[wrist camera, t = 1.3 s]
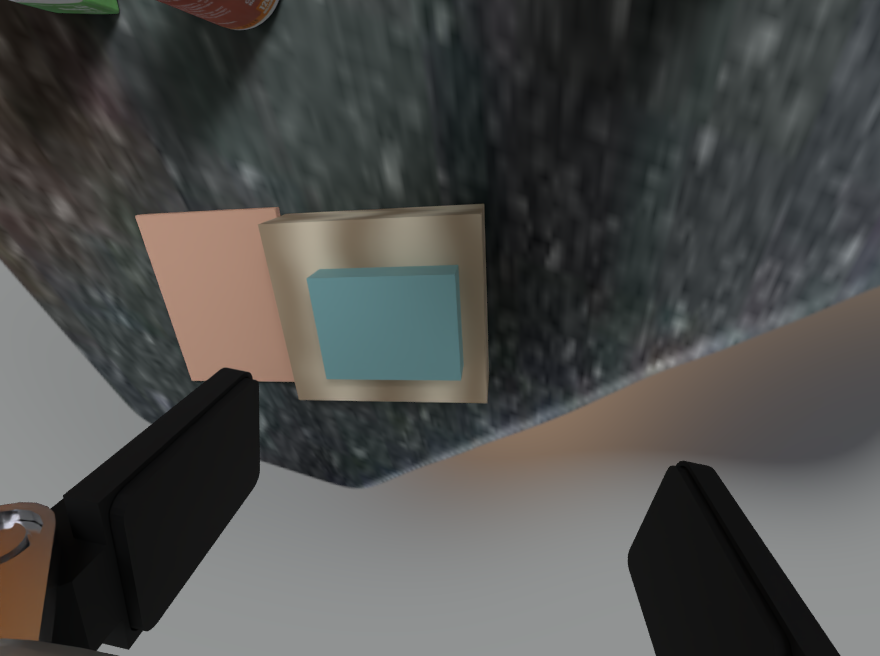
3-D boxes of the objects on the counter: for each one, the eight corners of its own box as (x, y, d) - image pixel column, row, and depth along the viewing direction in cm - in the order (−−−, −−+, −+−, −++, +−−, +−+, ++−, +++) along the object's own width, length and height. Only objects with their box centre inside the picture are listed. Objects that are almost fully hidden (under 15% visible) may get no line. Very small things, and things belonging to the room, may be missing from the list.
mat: (278, 206, 31) (274, 208, 30) (315, 378, 36) (312, 382, 36) (141, 214, 32) (135, 215, 32) (196, 377, 38) (191, 380, 37)
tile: (458, 264, 26) (454, 274, 25) (463, 365, 29) (460, 380, 27) (319, 269, 28) (306, 278, 26) (337, 364, 31) (326, 379, 29)
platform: (484, 203, 29) (481, 213, 25) (488, 374, 34) (487, 403, 30) (286, 213, 31) (257, 224, 27) (319, 373, 36) (299, 399, 32)
